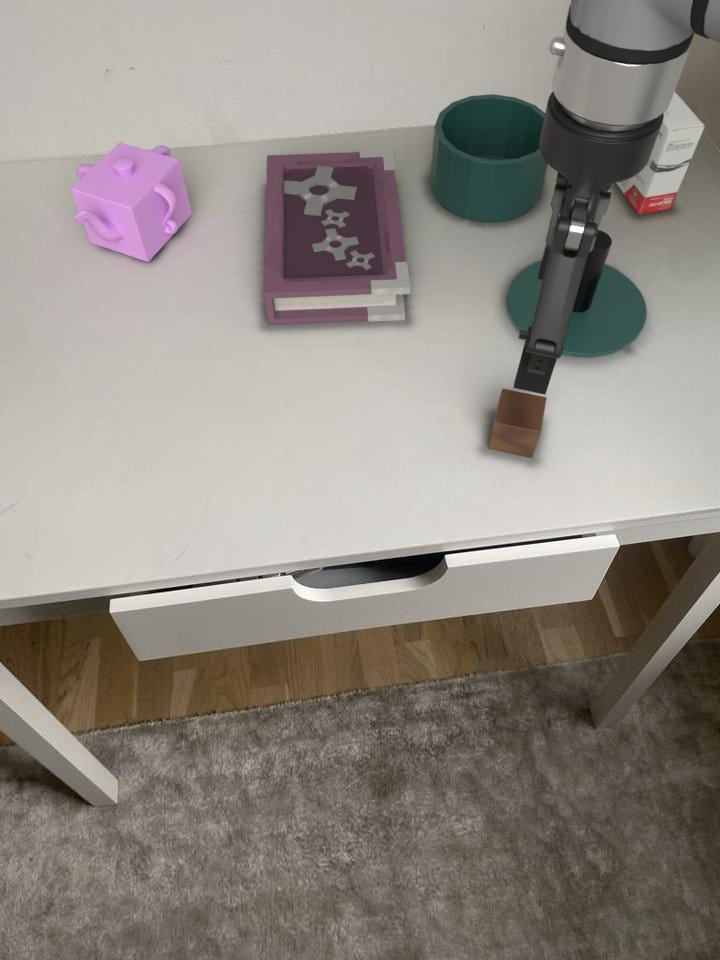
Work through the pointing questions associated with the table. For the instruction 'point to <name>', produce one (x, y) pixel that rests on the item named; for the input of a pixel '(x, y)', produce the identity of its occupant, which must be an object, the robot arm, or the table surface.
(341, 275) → the book
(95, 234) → the teapot
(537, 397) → the block
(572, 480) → the table surface
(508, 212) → the tin
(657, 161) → the ink box
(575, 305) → the lid
